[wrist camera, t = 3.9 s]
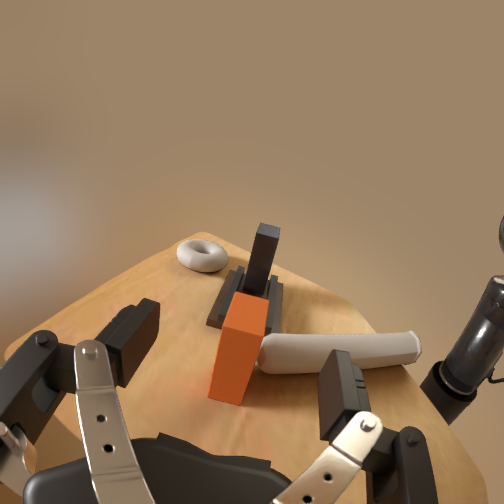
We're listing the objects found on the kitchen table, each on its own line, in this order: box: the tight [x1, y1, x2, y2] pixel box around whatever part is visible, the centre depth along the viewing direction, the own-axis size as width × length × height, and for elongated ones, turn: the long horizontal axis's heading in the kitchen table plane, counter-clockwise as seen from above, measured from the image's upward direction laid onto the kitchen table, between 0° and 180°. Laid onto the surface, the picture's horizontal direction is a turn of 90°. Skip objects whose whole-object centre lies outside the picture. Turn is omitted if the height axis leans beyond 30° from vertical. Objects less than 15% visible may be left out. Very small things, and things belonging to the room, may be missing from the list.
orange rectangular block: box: [207, 292, 269, 406], centre depth 27 cm, size 4×6×10 cm, turn 172°
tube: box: [256, 330, 422, 374], centre depth 34 cm, size 5×5×25 cm
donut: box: [177, 239, 228, 272], centre depth 54 cm, size 10×3×10 cm
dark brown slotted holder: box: [206, 223, 283, 337], centre depth 43 cm, size 10×16×11 cm, turn 172°
